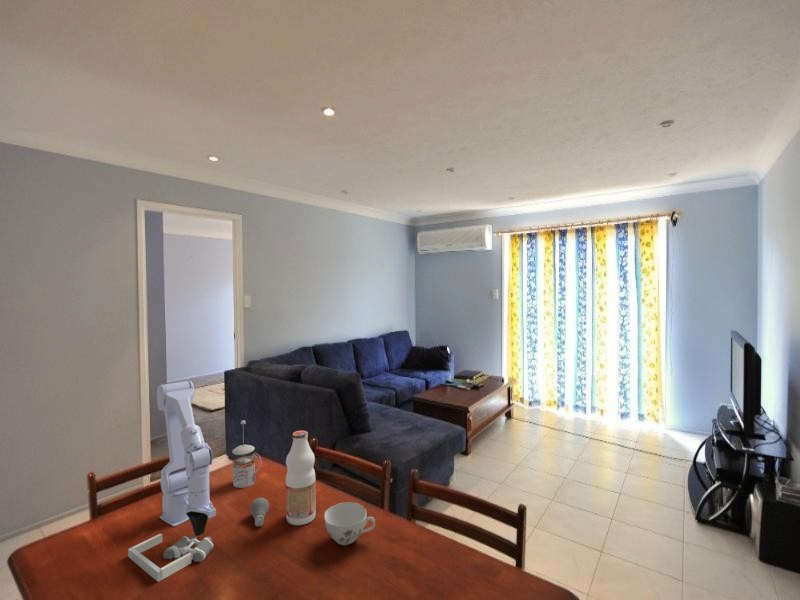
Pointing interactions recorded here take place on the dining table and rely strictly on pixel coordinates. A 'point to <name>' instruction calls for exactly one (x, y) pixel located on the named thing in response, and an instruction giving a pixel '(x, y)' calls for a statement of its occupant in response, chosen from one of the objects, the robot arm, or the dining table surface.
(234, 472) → the french press
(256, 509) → the light bulb
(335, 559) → the dining table surface
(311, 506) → the fruit juice
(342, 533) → the teacup
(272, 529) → the dining table surface
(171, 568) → the u-shaped open frame
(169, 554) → the binoculars
